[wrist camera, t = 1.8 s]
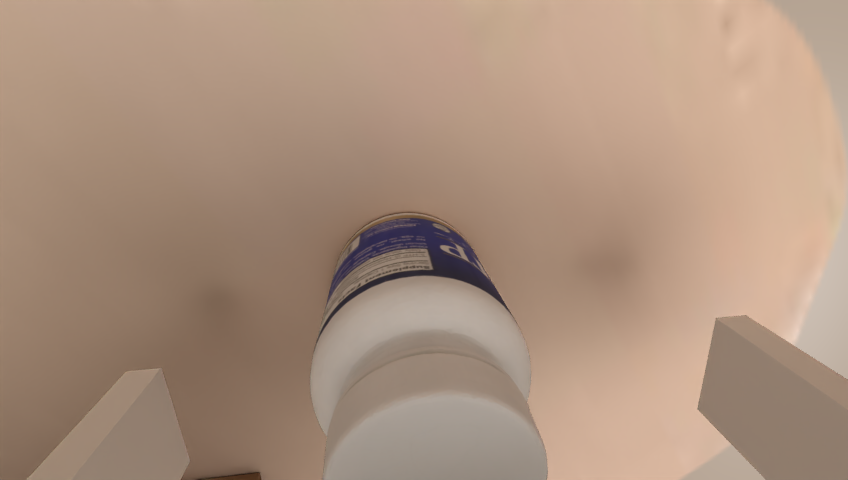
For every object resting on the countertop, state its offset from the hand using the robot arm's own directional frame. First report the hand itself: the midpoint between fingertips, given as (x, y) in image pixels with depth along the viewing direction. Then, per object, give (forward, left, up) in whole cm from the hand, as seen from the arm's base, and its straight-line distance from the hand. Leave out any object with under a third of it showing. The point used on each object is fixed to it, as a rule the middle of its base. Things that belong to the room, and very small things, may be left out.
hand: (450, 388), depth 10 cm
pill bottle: (-1, 0, -6) cm, 6 cm away
